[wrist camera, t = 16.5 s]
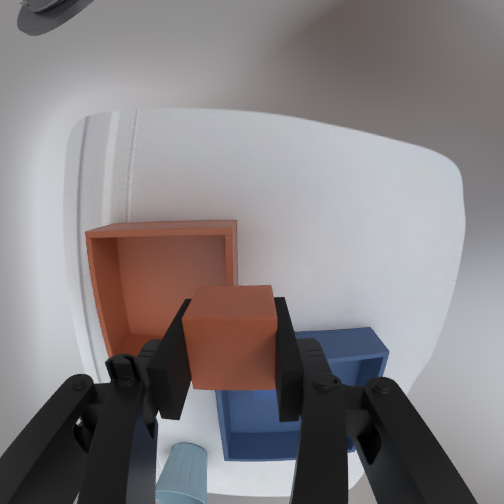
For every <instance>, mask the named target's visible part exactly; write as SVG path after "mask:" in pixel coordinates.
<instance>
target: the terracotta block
mask: <svg viewBox="0 0 504 504" xmlns="http://www.w3.org/2000/svg"><path fill="white" fill-rule="evenodd" d="M182 325H183V332H184V338H185V344H186V351H187V357H188V362H189V368H190V373H191V379H192V384H193V388H194V389H204V390H274V389H276V385H275V355H276V331H277V314H276V308H275V303H274V297H273V292H272V287H271V285H262V286H207V287H198V289H197V291H196V293H195V294H194V296H193V298H192V300H191V302H190V304H189V306H188V308H187V309H186V311H185V313H184V315H183V317H182Z"/></svg>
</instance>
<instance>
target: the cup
mask: <svg viewBox="0 0 504 504" xmlns="http://www.w3.org/2000/svg"><path fill="white" fill-rule="evenodd" d="M155 499H156V500H157V501H158V502H160V503H162V504H207V454H206V452H205V450H204V449H202V448H201V447H199V446H197V445H194V444H190V443H178V444H176V445H175V446H174V447H173V449H172V451H171V453H170V455H169V457H168V460H167V462H166V464H165V466H164V469H163V471H162V473H161V475H160V478H159V480H158V482H157V484H156V486H155Z"/></svg>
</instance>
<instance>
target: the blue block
mask: <svg viewBox="0 0 504 504" xmlns="http://www.w3.org/2000/svg"><path fill="white" fill-rule="evenodd" d="M253 399H277V394H276V389H274V390H253Z"/></svg>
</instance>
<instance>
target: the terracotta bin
mask: <svg viewBox="0 0 504 504" xmlns="http://www.w3.org/2000/svg"><path fill="white" fill-rule="evenodd" d="M85 235H86V245H87V254H88V262H89V269H90V275H91V282H92V287H93V293H94V298H95V303H96V308H97V313H98V317H99V322H100V326H101V330H102V334H103V338H104V342H105V346H106V349H107V353H108V356H109V358H111V357H112V356H115V355H118V354H131V355H133V356H135V357H136V356H137V355H138V353H139V352H140V350H141V349H142V347H143V345H144V344H145V343H147V342H148V341H150V340H151V339H161V340H162V338H163V337H164V335H165V333H166V331H167V330H168V328H169V326H170V324H171V323H172V321H173V319H174V317H175V316H176V314H177V312H178V310H179V309H180V307H181V305H182V303H183V302H184V300H185V299H192V298H193V296H194V294H195V293H196V291H197V289H198V287H207V286H238V267H237V220H200V221H163V222H136V223H115V224H110V225H106V226H103V227H99V228H96V229H93V230H89V231H86V232H85Z"/></svg>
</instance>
